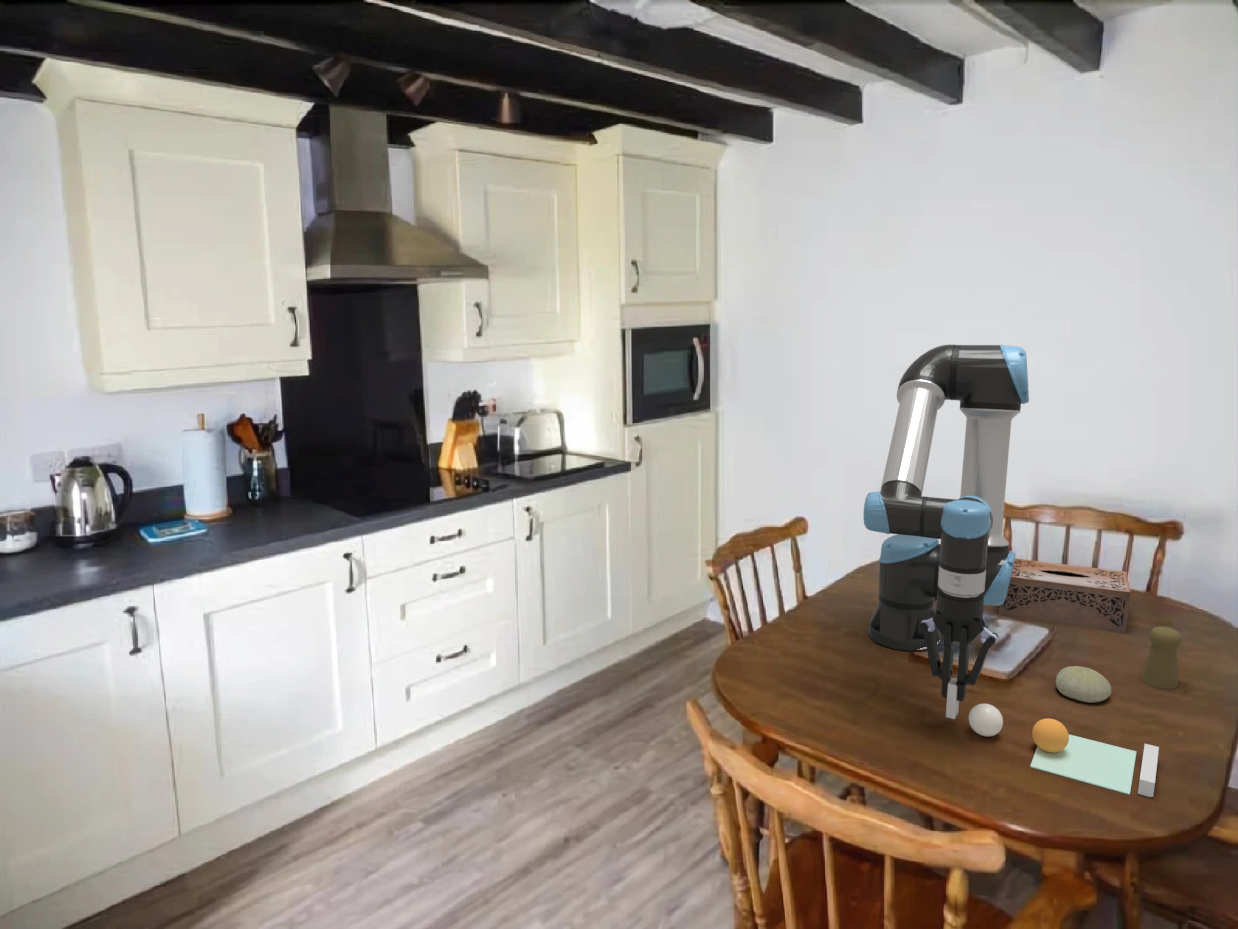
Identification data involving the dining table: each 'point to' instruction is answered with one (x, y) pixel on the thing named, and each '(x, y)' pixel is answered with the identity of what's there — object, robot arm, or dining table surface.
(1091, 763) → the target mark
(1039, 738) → the orange ball
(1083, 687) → the sea urchin shell
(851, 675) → the dining table surface
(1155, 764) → the stopper
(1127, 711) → the dining table surface
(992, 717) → the cue ball
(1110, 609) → the tissue box cover
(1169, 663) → the cork
